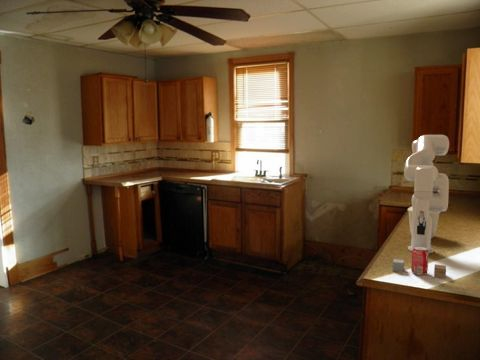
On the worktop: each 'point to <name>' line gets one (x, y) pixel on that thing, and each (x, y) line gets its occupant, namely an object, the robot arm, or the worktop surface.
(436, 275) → the walnut block
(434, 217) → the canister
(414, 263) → the soda can
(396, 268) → the slate grey block
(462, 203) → the worktop surface
